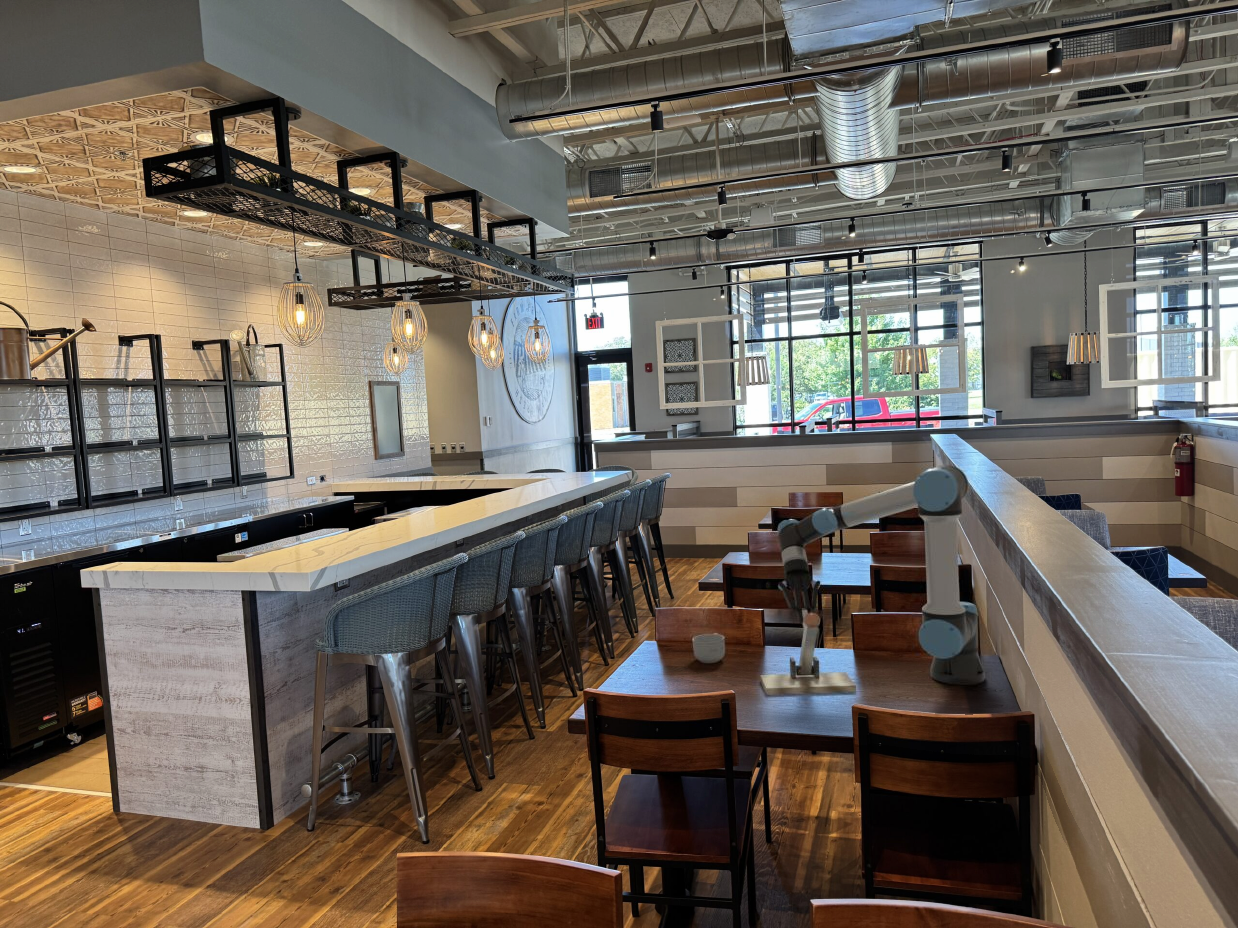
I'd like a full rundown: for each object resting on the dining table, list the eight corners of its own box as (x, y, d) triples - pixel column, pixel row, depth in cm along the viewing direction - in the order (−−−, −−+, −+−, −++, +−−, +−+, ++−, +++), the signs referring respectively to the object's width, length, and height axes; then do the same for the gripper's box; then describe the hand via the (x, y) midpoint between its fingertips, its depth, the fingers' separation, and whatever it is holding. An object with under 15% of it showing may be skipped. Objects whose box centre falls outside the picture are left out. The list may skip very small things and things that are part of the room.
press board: (845, 678, 248) (845, 654, 248) (856, 691, 236) (855, 666, 236) (760, 681, 249) (759, 657, 248) (766, 694, 237) (765, 669, 236)
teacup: (714, 667, 264) (714, 643, 264) (686, 662, 271) (685, 638, 271) (735, 656, 275) (735, 633, 275) (708, 651, 282) (707, 629, 282)
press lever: (811, 667, 248) (820, 608, 231) (813, 679, 244) (823, 620, 228) (794, 667, 248) (802, 609, 231) (797, 679, 245) (805, 621, 228)
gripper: (814, 570, 255) (828, 637, 240) (773, 571, 256) (783, 638, 240) (818, 556, 250) (831, 624, 234) (775, 558, 250) (786, 625, 234)
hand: (807, 631), depth 237 cm, fingers closed
